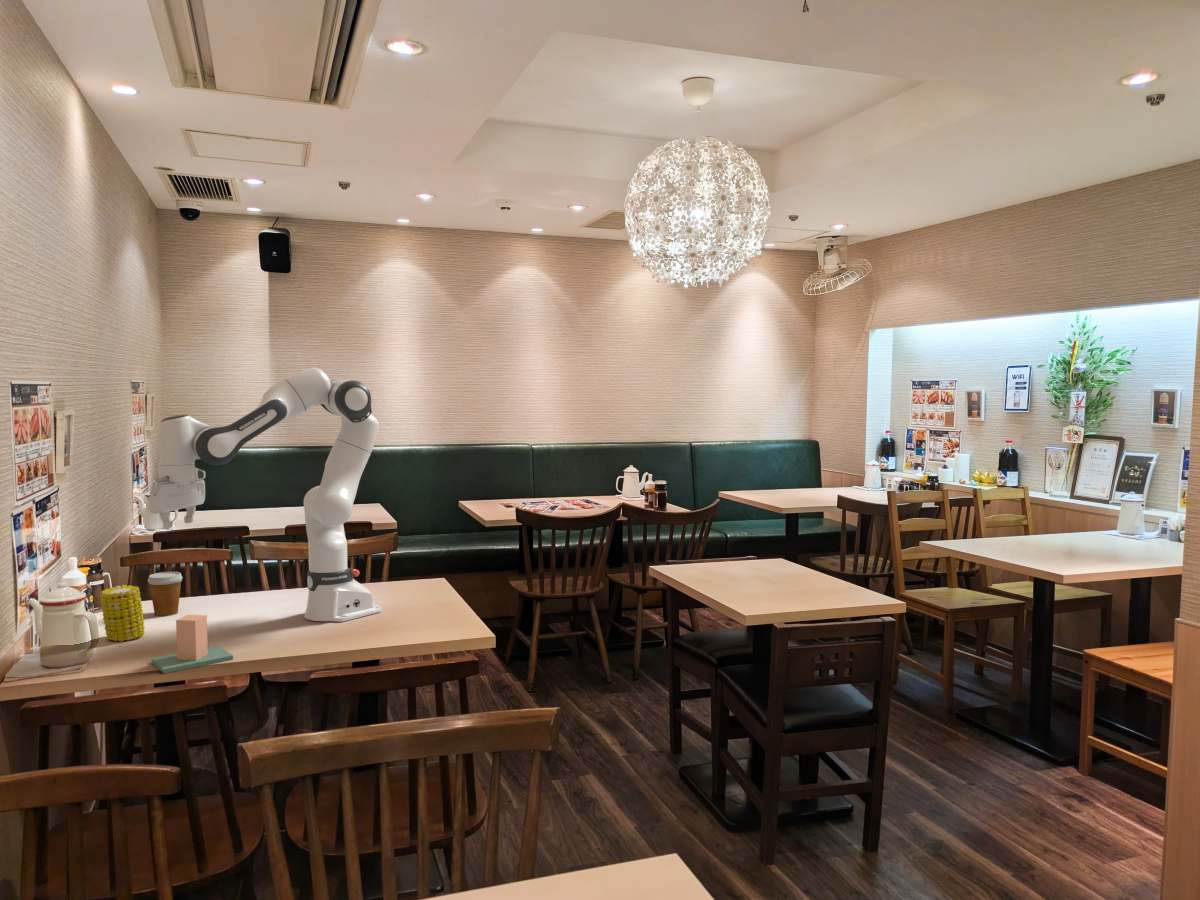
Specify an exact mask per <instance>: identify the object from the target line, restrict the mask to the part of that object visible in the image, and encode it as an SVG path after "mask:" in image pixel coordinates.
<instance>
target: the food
mask: <svg viewBox="0 0 1200 900" xmlns="http://www.w3.org/2000/svg"><path fill="white" fill-rule="evenodd" d="M99 596H100V599H99V600H100V604H101V609H102V616H103V618H102V621H104V622H103V624H104V630H105V635H106V639H107V640H108V641H114V642H117V641H118V642H120V643H123V642H125V641H127V642H128V641H131V640H136V639H137V638H141V637H143V636H144V635H145V629H146V628H145V625H144V623H145V621H144V620H145V619H144V614H143V613H144V612H143V611H144V610H143V604H142V598H141V591H140V587H139V586H133V585H131V584H130V585H127V584H122V585H116V586H114V587H113V586H111V587H109V588H106V589H104V590H101V593H100V594H99Z"/></svg>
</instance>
